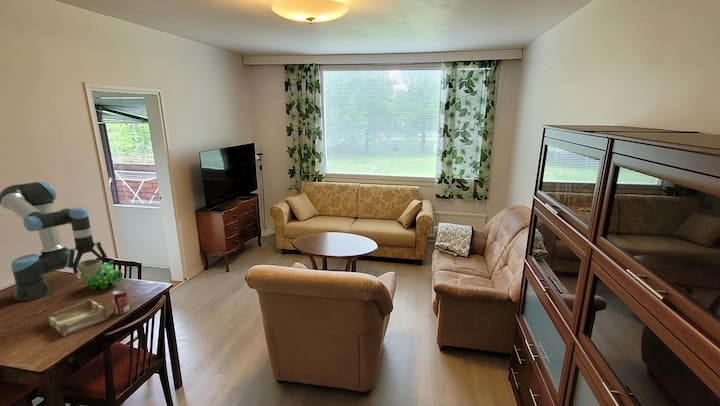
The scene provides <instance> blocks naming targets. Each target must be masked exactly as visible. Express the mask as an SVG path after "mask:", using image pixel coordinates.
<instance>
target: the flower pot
mask: <svg viewBox="0 0 720 406" xmlns="http://www.w3.org/2000/svg"><path fill="white" fill-rule="evenodd" d="M99 265H100V260H99V258H98V259H96V258H95V259H94V258H93V259H86V260H82V261H79V263H78V265H77V267H79V271H80V274H81V275H82V276H83V277H84V276H85V277H90V276H94V275H95V274H96V273H97V271H98V269H99Z"/></svg>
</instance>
